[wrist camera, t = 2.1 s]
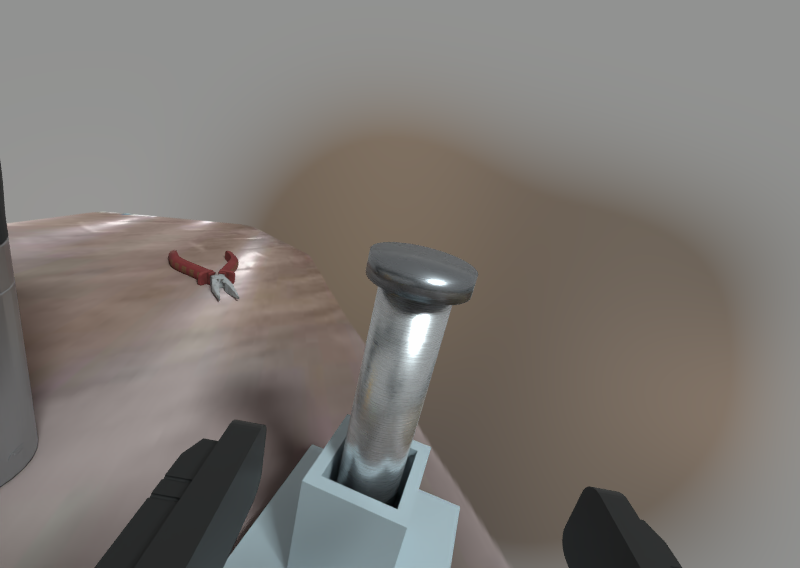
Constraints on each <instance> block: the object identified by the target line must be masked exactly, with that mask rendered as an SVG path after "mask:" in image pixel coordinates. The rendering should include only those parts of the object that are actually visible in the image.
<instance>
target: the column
mask: <svg viewBox="0 0 800 568" xmlns="http://www.w3.org/2000/svg"><path fill="white" fill-rule="evenodd" d="M366 275H367V277H368V278H369V279H370V280H371V281H372V282H373V283H374V284H376V285H377V286H378V290H377V295H376V299H375V304H374V309H373V314H372V318H371V323H370V328H369V332H368V337H367V341H366V346H365V351H364V355H363V360H362V365H361V369H360V374H359V379H358V383H357V388H356V393H355V397H354V402H353V407H352V411H351V416H350V421H349V425H348V430H347V435H346V439H345V444H344V449H343V454H342V458H341V463H340V468H339V472H338V477H337V482H336V483H339V484H341V485H343V486H345V487H348V488H350V489H352V490H354V491H357V492H359V493H361V494H364V495H366V496H368V497H370V498H373V499H375V500H377V501H380V502H382V503H384V504H386V505H389V506H391V507H393V505H394V502H395V499H396V495H397V492H398V488H399V485H400V481H401V478H402V475H403V471H404V468H405V464H406V461H407V458H408V454H409V451H410V447H411V444H412V440H413V437H414V434H415V430H416V427H417V423H418V420H419V416H420V413H421V409H422V406H423V403H424V399H425V396H426V393H427V389H428V386H429V382H430V379H431V375H432V372H433V368H434V365H435V362H436V358H437V355H438V352H439V348H440V345H441V341H442V338H443V335H444V331H445V328H446V324H447V321H448V317H449V314H450V311H451V307H452V305H457V304H462V303H465V302H467V301H469V300H470V298H471V296H472V293H473V289H474V286H475V283H476V280H477V276H478V272H477V270H476V269H475V268H474V267H473V266H471V265H470V264H469V263H467V262H465V261H463V260H461V259H459V258H457V257H455V256H453V255H450V254H447V253H444V252H441V251H438V250H435V249H431V248H427V247H423V246H419V245H413V244H406V243H398V242H383V243H377V244H374V245H373V246H372V247H371V248H370V252H369V258H368V262H367V267H366Z"/></svg>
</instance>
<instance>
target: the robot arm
mask: <svg viewBox="0 0 800 568" xmlns="http://www.w3.org/2000/svg"><path fill="white" fill-rule="evenodd" d="M265 438H266V425H262V424H257V423H251V422H246V421H240V420H233V421H232V422H231V423H230V425H229V426H228V428H227V429H226V431H225V432H224V434H223V435H222V437H221V438H220V440H219V441H214V440H209V439H202V440H201V441H199V442H198V443H196V444H195V445H193V446H192V447H191V448H189V449H188V450H186V451H185V452H183V453H182V454H181V455H180V456H179V458H178V459H177V460H176V461H175V463H174V464H173V465H172V467H171V468H170V469H169V471H168V472H167V473H166V475H165V478H164V479H162V480H161V481H160V482H159V484H158V485H157V486H156V488H155V489H154V490H153V492H152V493H151V496H150V498H147V499H146V501H145V502H144V503H143V505H142V506H141V507H140V509H139V510H138V511H137V513H136V514H135V515H134V517H133V518H132V519H131V520H130V522H129V523H128V524H127V526H126V527H125V528H124V530H123V531H122V532H121V534H120V535H119V536H118V538H117V539H116V540H115V541H114V543H113V544H112V545H111V547H110V548H109V549H108V551H107V552H106V553H105V555H104V556H103V557H102V559H101V560H100V561H99V562H98V564H97V565H96V566H95V568H223V567H224V565H225V563H226V561H227V559H228V556H229V554H230V552H231V550H232V547H233V545H234V543H235V541H236V539H237V536H238V534H239V532H240V530H241V527H242V525H243V523H244V521H245V519H246V516H247V514H248V512H249V510H250V507H251V505H252V503H253V501H254V498H255V495H256V493H257V490H258V486H259V483H260V479H261V473H262V465H263V456H264V447H265ZM37 444H38V436H37V429H36V422H35V415H34V408H33V399H32V393H31V386H30V379H29V372H28V365H27V359H26V352H25V345H24V338H23V331H22V325H21V318H20V311H19V304H18V298H17V291H16V284H15V277H14V272H13V266H12V259H11V252H10V245H9V238H8V230H7V224H6V217H5V206H4V192H3V180H2V171H1V163H0V486H2V485H3V484H5V483H6V482H7V481H9V480H10V479H12V478H13V477H14V476H15V475H16V474H17V473H19V472H20V471H21V470H22V469H23V468H24V467H25V466H26V465H27V463H28V462H29V461H30V460H31V458H32V457H33V455H34V453H35V451H36V449H37ZM562 541H563V551H564V556H565V559H566V561H567V564H568V567H569V568H682V567H681V565H680V564H679V562H678V561H677V559H676V558H675V556H674V555H673V553H672V552H671V550H670V549H669V547H668V545H667V544H666V543H665V542H664V541H663V540H662V539H661V537H660V536H658V535H657V533H655V531H654V530H652V528H651V527H650V526H649V525H648V524H647V523H646V522H645V521H644V520H640V519H639V517H638V516H637V514H636V512H635V511H634V509H633V508H632V506H631V504H630V503H629V501H628V500H627V498H626V497H625V496H624V495H623V494H621V493H620V492H616V491H611V490H606V489H600V488H595V487H586V488H585V489H584V490H583V492H582V494H581V496H580V498H579V500H578V502H577V504H576V506H575V508H574V510H573V512H572V514H571V516H570V518H569V520H568V522H567V524H566V526H565V528H564V531H563V540H562Z"/></svg>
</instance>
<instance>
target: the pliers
mask: <svg viewBox="0 0 800 568" xmlns="http://www.w3.org/2000/svg"><path fill="white" fill-rule="evenodd" d="M168 258H169V262H170V265H171V267H172V268H174V269H175V270H177V271H179V272H181V273H184V274H186V275H188V276H191V277H193V278H195V279H197V280H198V285H204V284H208V285H210V284H211V287H212V292H213V293H214V295H215V296H216V297H217V299H218V300H219V301H220V290H219V288H220V287H221V288H225V290H224V291H225V292H226V293H228V294H229V295H231V296H233V297H235V298H237V299H239V296H238V294H237V292H236V290H235V288H234V286H233V284H234V282H235V273H234V272H235V271H236V269H237V267H238V259H237V257H236V256H235V255H234V254H233V253H232V252H230V251H226V252H225V259H226V260H227V262H228V263H227V264H226V265H225V266H224V267H223V268H222V269H220V271H219V272H218V275H215V273H216V272H213V270H208V269H206V268H204V267H201V266H199V265H196V264H194V263H192V262H189V261H187V260H184V259H182V258H181V257H179V256H178V253H177V251H171V252H170V253H169V256H168Z"/></svg>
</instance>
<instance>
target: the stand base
mask: <svg viewBox="0 0 800 568" xmlns="http://www.w3.org/2000/svg"><path fill="white" fill-rule="evenodd" d="M350 416H351V415H348V414H347V416H346V417H345V419H344V420H343V422H342V423H341V425H340V426H339V427H338V429H337V430H336V432H335V433H334V435H333V436H332V438H331V439H330V441H329V442H328V444H327V445H326V446H325V448H324V449H322V448H320V447H318V446H315V445H313V444H312V445H311V446H310V448H309V449H308V450H307V452H306V453H305V455H304V456H303V457H302V459H301V460H300V461H299V463H298V464H297V465H296V467H295V468H294V469H293V471H292V472H291V474H290V475H289V476H288V478H287V479H286V480H285V482H284V483H283V484H282V486H281V487H280V488H279V490H278V491H277V492H276V494H275V495H274V497H273V498H272V499H271V501H270V502H269V503H268V505H267V506H266V507H265V509H264V510H263V511H262V513H261V514H260V515H259V517H258V518H257V520H256V521H255V522H254V524H253V525H252V526H251V528H250V529H249V530H248V532H247V533H246V534H245V536H244V537H243V539H242V540H241V541H240V543H239V544H238V545H237V547H236V548H235V549H234V551H233V552H232V553H231V555H230V556H229V557H228V559H227V561H226V563H225V565H224V567H223V568H450V567H451V560H452V554H453V548H454V541H455V535H456V528H457V522H458V516H459V509H460V506H457V505H455V504H453V503H450V502H448V501H445V500H443V499H441V498H438V497H436V496H434V495H431V494H429V493H427V492H424V491H422V490H419V486H420V483H421V480H422V476H423V473H424V469H425V466H426V463H427V459H428V456H429V453H430V449H431V447H429V446H427V445H424V444H422V443H419V442H417V441H414V440H412V444H411V447H410V451H409V454H408V458H407V461H406V464H405V468H404V471H403V475H402V478H401V481H400V485H399V488H398V492H397V495H396V499H395V502H394V505H393V507H391V506H389V505H386V504H384V503H382V502H380V501H377V500H375V499H373V498H370V497H368V496H366V495H364V494H361V493H359V492H357V491H354V490H352V489H350V488H348V487H345V486H343V485H341V484H339V483H336V482H337V477H338V472H339V468H340V463H341V458H342V454H343V449H344V444H345V439H346V435H347V430H348V425H349V421H350Z"/></svg>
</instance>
